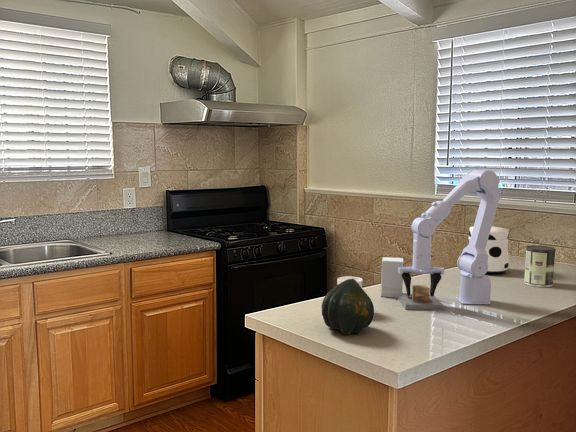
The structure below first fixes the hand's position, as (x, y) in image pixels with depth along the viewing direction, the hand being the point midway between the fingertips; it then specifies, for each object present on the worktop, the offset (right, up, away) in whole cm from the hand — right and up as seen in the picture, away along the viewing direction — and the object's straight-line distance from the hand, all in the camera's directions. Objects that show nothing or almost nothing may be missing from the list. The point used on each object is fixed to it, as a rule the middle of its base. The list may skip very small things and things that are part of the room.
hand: (420, 295), depth 187 cm
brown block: (0, -2, 0) cm, 2 cm away
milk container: (+39, +3, +51) cm, 65 cm away
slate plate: (0, -3, 0) cm, 3 cm away
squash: (-27, -6, -26) cm, 38 cm away
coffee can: (+52, 0, +30) cm, 60 cm away
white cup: (-24, -4, -7) cm, 25 cm away
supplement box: (-7, -2, +12) cm, 14 cm away
